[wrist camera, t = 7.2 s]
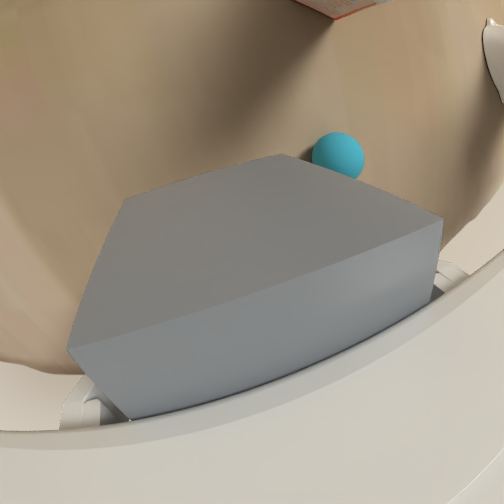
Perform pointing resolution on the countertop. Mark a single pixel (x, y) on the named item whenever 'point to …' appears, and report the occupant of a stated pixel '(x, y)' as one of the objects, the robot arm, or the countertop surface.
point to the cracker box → (340, 6)
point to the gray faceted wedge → (246, 282)
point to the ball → (339, 154)
